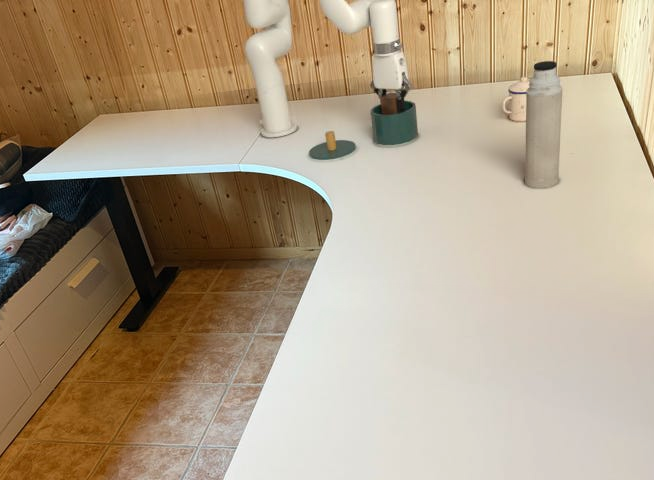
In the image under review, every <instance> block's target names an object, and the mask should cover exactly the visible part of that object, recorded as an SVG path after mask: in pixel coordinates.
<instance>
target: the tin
mask: <svg viewBox="0 0 654 480" xmlns="http://www.w3.org/2000/svg"><path fill="white" fill-rule="evenodd" d="M404 101H405V111H403V112H401V113H397V114H390V115H384V114H382V109H381V103H379V104H377V105H375V106H373V107H372V108H371V109H370V119H371V127H372V135H373V142H374V143H375V144H377V145H381V146H397V145H402V144H405V143H409V142H412V141H413V140H415V139H416V138H417V137H418V136H419V129H418V119H417V118H418V115H417V105H416V103H415V102H413V101H412V100H405V99H404Z"/></svg>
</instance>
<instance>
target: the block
mask: <svg viewBox="0 0 654 480" xmlns="http://www.w3.org/2000/svg"><path fill="white" fill-rule="evenodd" d="M400 94H401V92H400ZM380 100H381V102H380V104H381V108H382V114H384V115H390V114H397V104H396V100H398V99H397V95H396V92H387V94H386V95H384V96H382V97H381V98H380V99H379V101H380Z"/></svg>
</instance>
